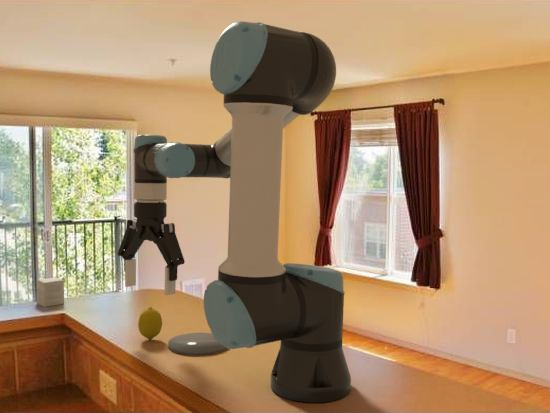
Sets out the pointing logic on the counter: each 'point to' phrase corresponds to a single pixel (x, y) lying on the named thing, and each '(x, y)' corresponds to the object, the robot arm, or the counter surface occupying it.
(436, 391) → the counter surface
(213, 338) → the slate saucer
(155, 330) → the lemon
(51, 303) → the product box
